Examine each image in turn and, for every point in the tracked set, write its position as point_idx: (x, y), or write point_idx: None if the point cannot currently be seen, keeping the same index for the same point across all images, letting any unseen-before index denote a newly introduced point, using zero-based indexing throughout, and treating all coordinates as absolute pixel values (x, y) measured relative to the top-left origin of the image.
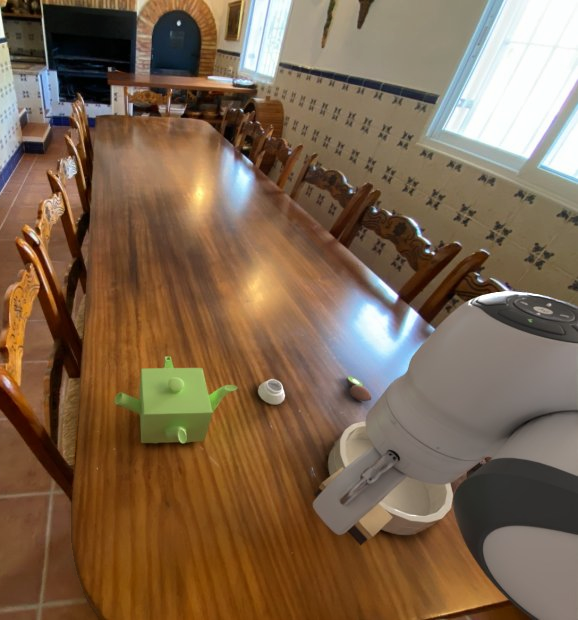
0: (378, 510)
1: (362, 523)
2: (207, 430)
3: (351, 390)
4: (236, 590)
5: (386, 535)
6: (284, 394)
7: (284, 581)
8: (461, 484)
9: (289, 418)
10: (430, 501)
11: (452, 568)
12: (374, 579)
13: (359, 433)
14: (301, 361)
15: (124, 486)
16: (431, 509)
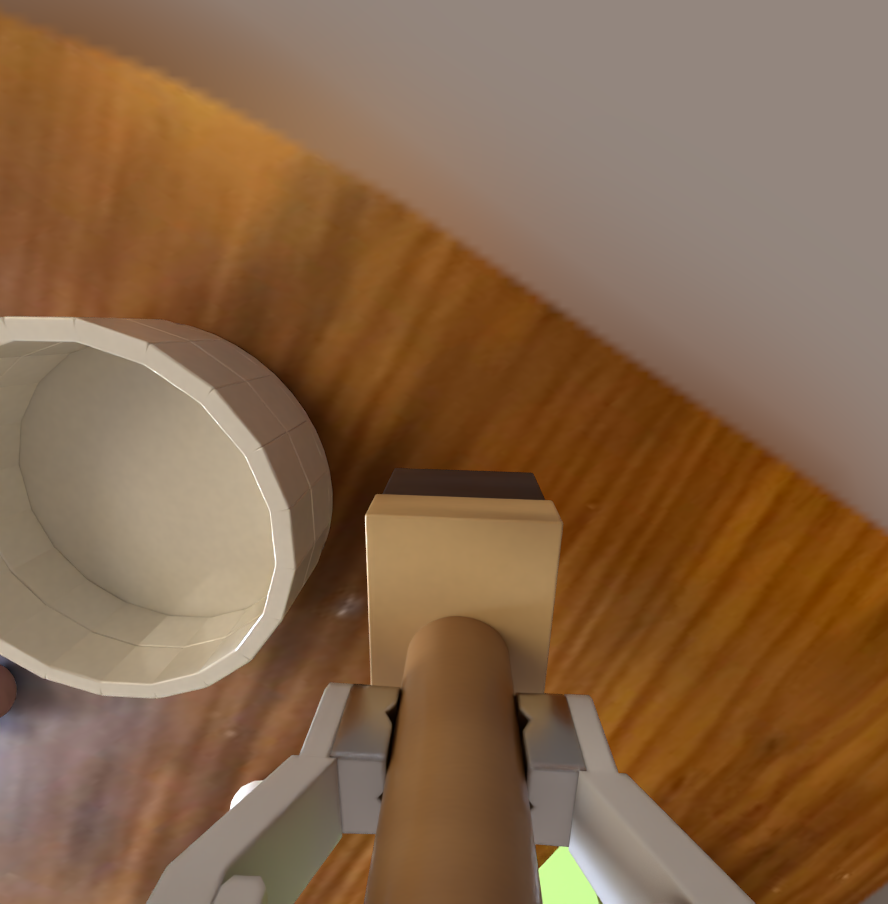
0: (404, 573)
1: (547, 585)
2: (597, 897)
3: (3, 714)
4: (794, 528)
5: (296, 379)
6: (238, 800)
7: (671, 473)
8: None
9: (280, 733)
10: (60, 359)
11: (180, 200)
12: (441, 331)
13: (107, 630)
14: (89, 824)
15: (826, 820)
16: (82, 344)
